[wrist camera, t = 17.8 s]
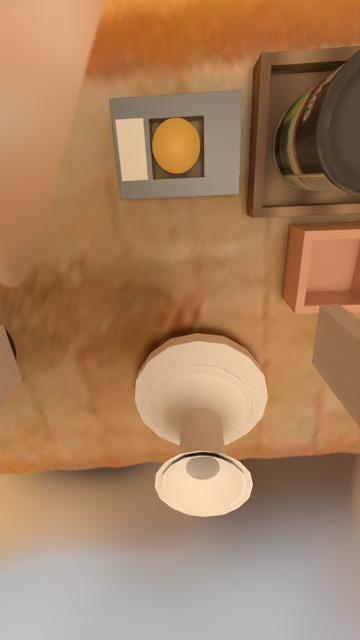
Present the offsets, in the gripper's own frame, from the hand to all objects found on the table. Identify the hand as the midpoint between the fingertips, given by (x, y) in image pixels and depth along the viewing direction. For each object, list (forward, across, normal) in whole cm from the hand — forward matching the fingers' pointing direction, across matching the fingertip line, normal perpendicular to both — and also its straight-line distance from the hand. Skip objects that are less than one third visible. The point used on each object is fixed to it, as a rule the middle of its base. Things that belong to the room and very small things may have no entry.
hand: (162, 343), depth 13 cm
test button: (+29, +1, +10) cm, 30 cm away
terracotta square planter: (+29, +20, -5) cm, 36 cm away
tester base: (+30, +1, +10) cm, 31 cm away
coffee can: (+28, +17, +9) cm, 35 cm away
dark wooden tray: (+29, +17, +9) cm, 35 cm away
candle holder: (+30, +2, -23) cm, 38 cm away
